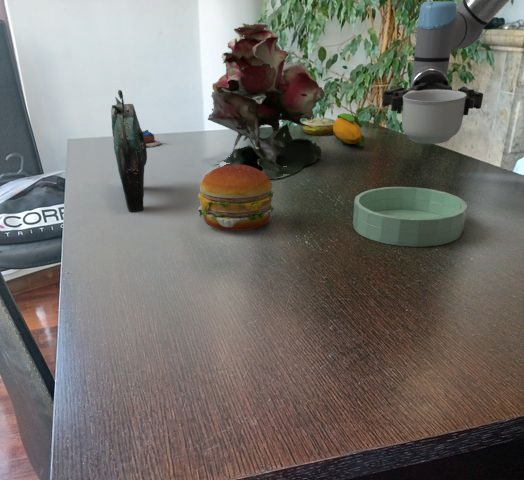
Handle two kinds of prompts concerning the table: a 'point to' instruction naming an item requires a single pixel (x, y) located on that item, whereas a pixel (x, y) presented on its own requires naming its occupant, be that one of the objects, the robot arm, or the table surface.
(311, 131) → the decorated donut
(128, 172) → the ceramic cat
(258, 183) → the burger
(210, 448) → the table surface
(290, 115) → the rose bouquet
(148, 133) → the dessert
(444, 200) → the bowl
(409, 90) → the robot arm
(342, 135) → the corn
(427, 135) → the teacup
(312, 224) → the table surface
